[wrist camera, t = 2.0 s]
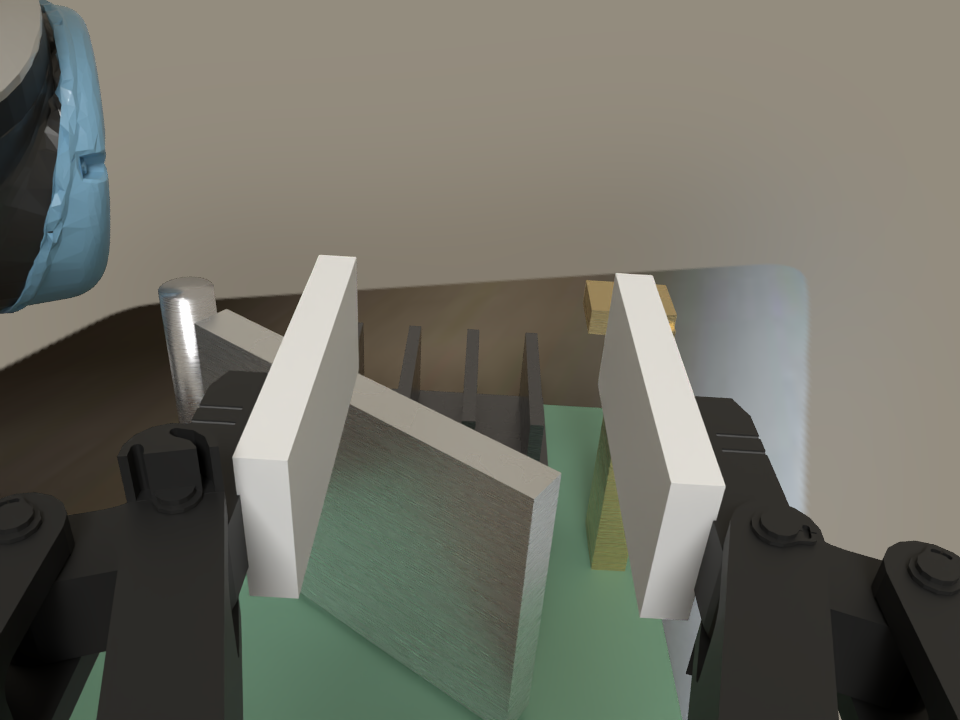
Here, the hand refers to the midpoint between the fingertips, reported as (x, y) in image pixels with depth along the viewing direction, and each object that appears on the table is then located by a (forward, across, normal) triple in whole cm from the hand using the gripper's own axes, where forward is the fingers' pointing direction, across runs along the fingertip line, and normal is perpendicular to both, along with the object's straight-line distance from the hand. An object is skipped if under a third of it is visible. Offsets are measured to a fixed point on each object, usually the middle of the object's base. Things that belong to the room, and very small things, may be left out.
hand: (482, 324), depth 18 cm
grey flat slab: (+8, -4, -18) cm, 20 cm away
